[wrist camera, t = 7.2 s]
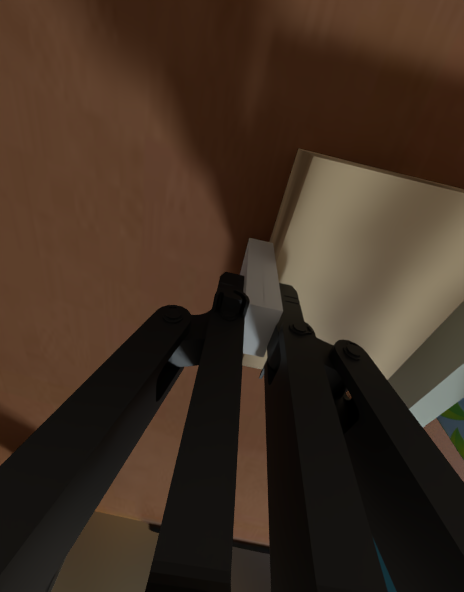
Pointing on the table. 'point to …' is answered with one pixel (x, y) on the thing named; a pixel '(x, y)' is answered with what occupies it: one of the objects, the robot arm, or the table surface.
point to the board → (434, 371)
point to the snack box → (454, 425)
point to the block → (369, 255)
